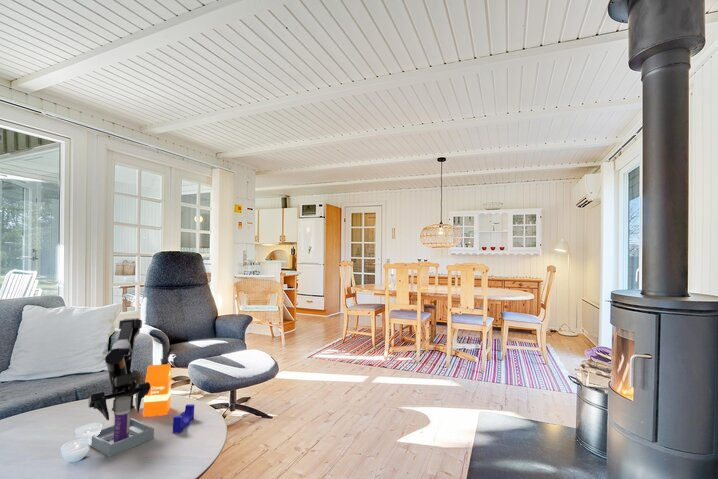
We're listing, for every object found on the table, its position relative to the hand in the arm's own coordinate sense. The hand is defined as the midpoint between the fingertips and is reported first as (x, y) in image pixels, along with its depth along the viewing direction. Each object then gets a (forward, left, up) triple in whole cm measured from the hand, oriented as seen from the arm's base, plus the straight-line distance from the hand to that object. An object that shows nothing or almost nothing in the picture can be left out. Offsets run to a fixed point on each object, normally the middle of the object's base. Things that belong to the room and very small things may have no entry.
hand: (123, 416), depth 129 cm
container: (0, -1, -9) cm, 10 cm away
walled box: (0, -1, -9) cm, 9 cm away
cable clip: (-19, +6, -10) cm, 22 cm away
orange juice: (-21, -14, -9) cm, 27 cm away
